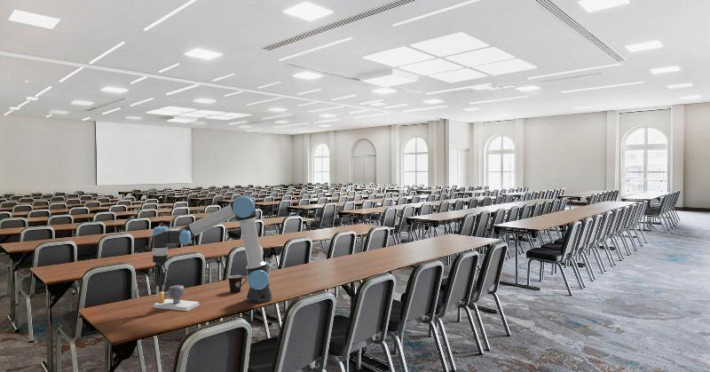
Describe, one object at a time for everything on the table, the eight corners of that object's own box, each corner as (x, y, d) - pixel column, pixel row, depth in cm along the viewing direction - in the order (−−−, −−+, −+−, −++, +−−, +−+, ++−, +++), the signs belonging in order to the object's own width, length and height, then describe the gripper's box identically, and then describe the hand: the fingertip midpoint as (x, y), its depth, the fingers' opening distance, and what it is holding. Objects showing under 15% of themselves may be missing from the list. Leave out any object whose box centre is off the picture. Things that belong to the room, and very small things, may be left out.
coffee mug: (228, 294, 278) (228, 278, 278) (228, 290, 287) (228, 275, 286) (247, 292, 281) (247, 277, 281) (246, 289, 290) (246, 274, 289)
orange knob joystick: (176, 295, 257) (176, 284, 257) (187, 296, 254) (187, 286, 254) (153, 302, 242) (153, 291, 242) (164, 304, 239) (163, 293, 239)
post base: (199, 305, 254) (198, 295, 254) (186, 311, 244) (186, 300, 244) (167, 302, 260) (166, 292, 260) (153, 307, 250) (153, 297, 250)
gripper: (148, 253, 245) (148, 295, 245) (157, 257, 235) (156, 300, 236) (162, 252, 250) (162, 293, 251) (171, 255, 241) (170, 298, 241)
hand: (159, 296), depth 243 cm, fingers closed
